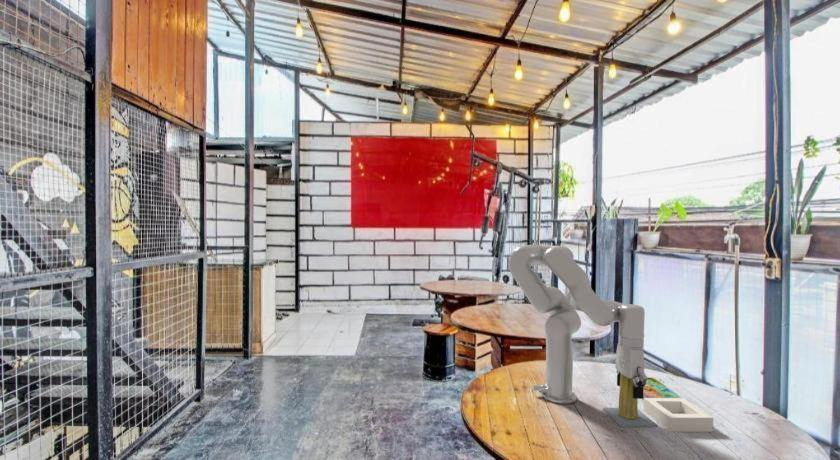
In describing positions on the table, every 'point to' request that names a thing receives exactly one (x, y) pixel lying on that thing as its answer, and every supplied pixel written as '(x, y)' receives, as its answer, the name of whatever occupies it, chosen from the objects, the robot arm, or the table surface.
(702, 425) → the well board
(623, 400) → the vase
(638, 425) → the mat
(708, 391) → the table surface
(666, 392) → the puzzle game
